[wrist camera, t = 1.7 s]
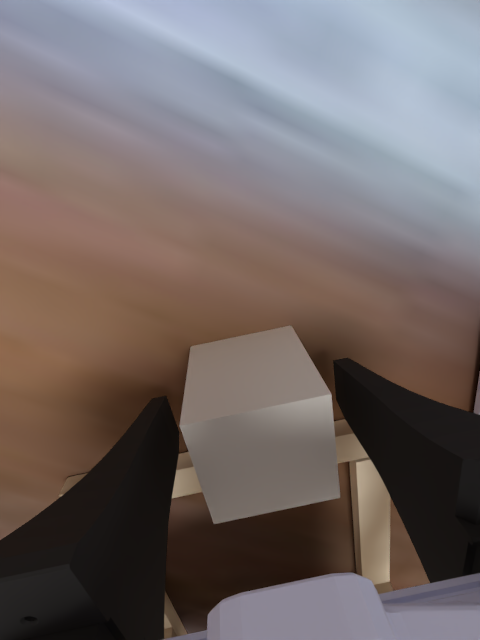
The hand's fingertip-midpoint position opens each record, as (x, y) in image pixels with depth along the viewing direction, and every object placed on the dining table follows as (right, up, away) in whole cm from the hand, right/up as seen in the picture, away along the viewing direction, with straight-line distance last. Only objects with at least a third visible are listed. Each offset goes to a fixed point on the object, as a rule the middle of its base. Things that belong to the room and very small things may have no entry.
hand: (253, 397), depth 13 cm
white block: (0, +1, +1) cm, 2 cm away
